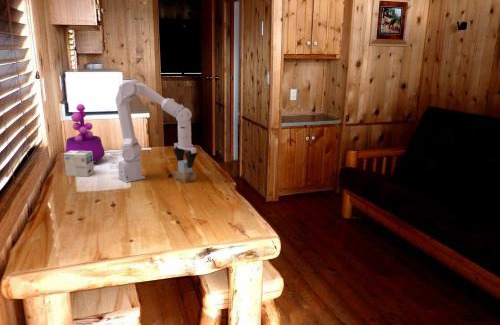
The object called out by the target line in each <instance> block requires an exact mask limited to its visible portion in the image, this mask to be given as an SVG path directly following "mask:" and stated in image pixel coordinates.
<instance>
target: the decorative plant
mask: <svg viewBox="0 0 500 325" xmlns="http://www.w3.org/2000/svg"><path fill="white" fill-rule="evenodd" d="M85 109H86V107H85V105H84V104H83V103H79V104H77V105H76V111H78V112H74V113H72V114H71V120H72V121H73V122H74V123H73V124H72V128H73V129H74V130H75V131H78V132H79V133H78V134H77V135H76V136H71V137H68V138H67V139H66V144H65V151H64V153H67V152H69V151H71V150H72V151H92V155H93V163H95V162H98V161H100V160H102V159H103V158H104V156H105V155H106V153H105V148H104V146H103V143H102V139H101V137H100V136H99V135H93V134H94V133H93V132H92V131H91V130H92V129H93V126H94V125H93V124H92V123H91V122H86V123H85V119H84V118H85V117H86V116H87V113H86V112H85Z"/></svg>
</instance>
